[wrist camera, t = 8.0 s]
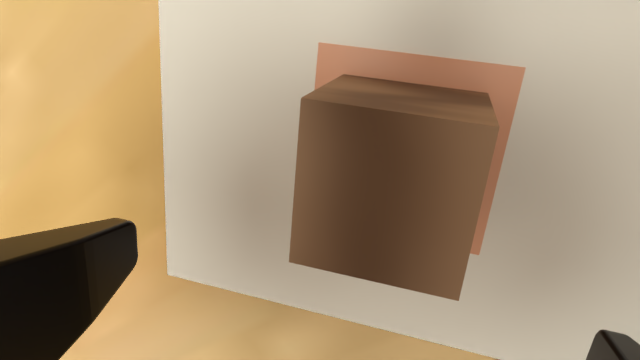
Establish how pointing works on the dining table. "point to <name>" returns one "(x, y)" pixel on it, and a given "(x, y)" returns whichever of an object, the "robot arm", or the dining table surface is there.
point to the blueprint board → (503, 179)
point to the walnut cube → (391, 181)
